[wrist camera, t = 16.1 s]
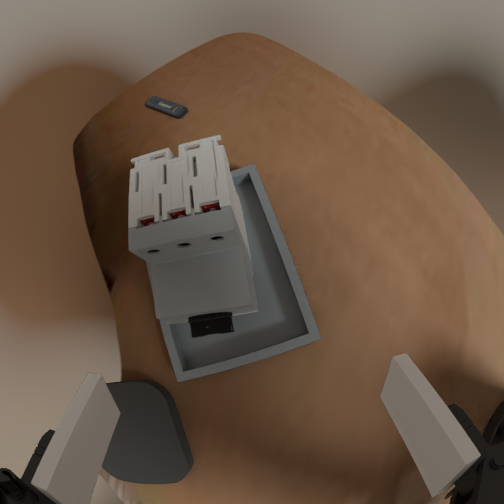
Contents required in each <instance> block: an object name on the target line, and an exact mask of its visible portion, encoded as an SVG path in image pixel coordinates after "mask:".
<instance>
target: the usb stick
mask: <svg viewBox="0 0 504 504" xmlns="http://www.w3.org/2000/svg"><path fill="white" fill-rule="evenodd" d="M146 106H147V107H149V108H152V109H155V110H157V111H160V112H163V113H165V114H168V115H170V116H173V117H176V118H178V119H179V118H182V117H183V116H184V115H185V114H186V113H187V112H188V110H187V108H186V107H184V106H181V105H179V104H176V103H173V102H170V101H167V100H164V99H161V98H158V97H155V96H152V97H151V98H149V100H148V101H147V102H146Z"/></svg>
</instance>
